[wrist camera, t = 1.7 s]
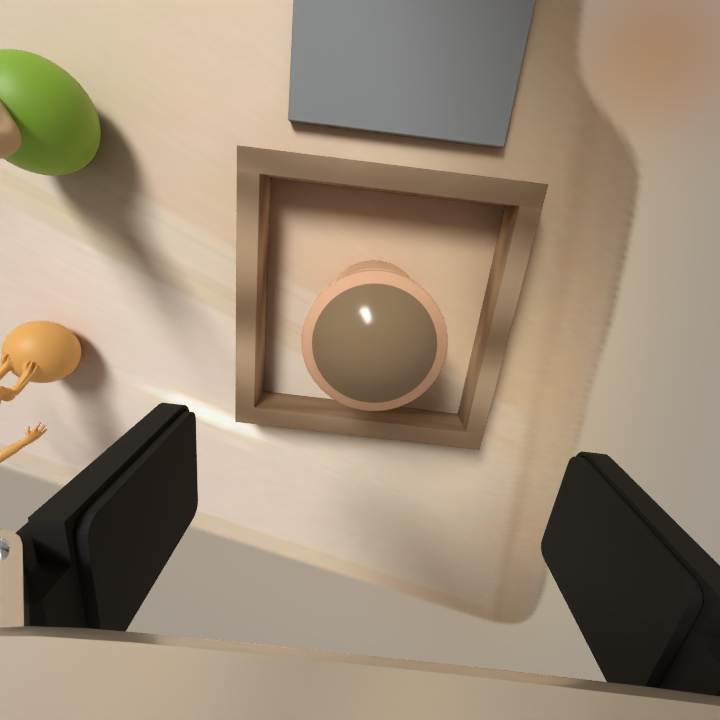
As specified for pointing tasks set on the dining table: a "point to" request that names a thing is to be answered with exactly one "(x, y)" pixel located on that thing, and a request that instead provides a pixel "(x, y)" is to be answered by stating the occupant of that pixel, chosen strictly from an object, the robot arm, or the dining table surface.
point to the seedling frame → (513, 195)
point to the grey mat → (409, 66)
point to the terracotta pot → (374, 338)
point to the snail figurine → (44, 116)
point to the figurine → (36, 364)
